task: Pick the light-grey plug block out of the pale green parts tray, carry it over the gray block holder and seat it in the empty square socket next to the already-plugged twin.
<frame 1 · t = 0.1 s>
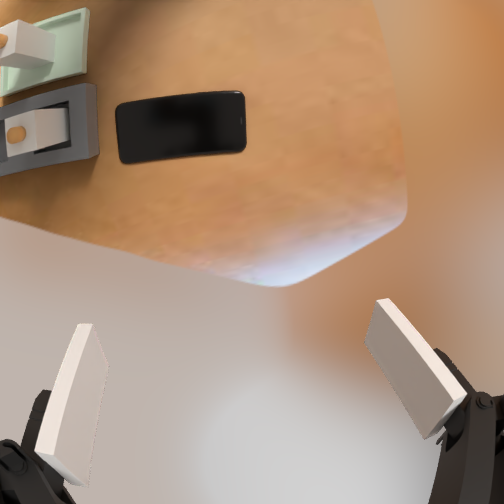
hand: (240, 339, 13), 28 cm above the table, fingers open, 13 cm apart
smartphone: (180, 125, 34), on the table
plug: (42, 52, 25), point 1 cm above the table, touching tray
tray: (44, 53, 25), on the table
gray block holder: (33, 132, 30), on the table
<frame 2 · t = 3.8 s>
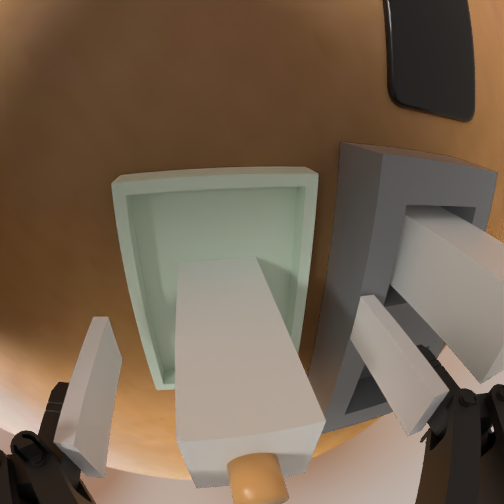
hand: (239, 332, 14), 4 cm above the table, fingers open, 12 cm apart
smartphone: (424, 4, 12), on the table
plug: (218, 292, 17), point 1 cm above the table, touching tray
tray: (217, 286, 17), on the table
gray block holder: (379, 294, 20), on the table
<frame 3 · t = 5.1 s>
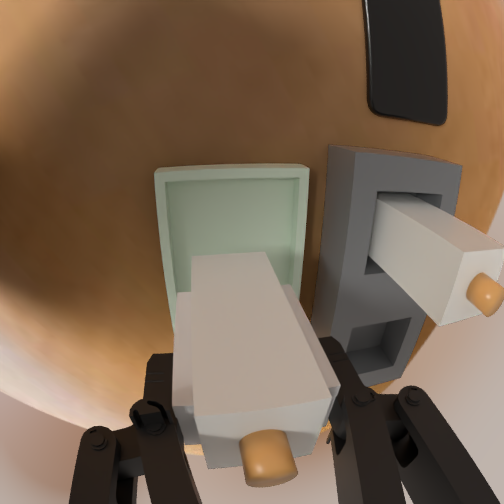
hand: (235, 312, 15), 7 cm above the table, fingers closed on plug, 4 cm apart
smartphone: (402, 26, 16), on the table
plug: (229, 285, 17), point 4 cm above the table, touching gripper
tray: (232, 258, 22), on the table
gray block holder: (367, 272, 24), on the table
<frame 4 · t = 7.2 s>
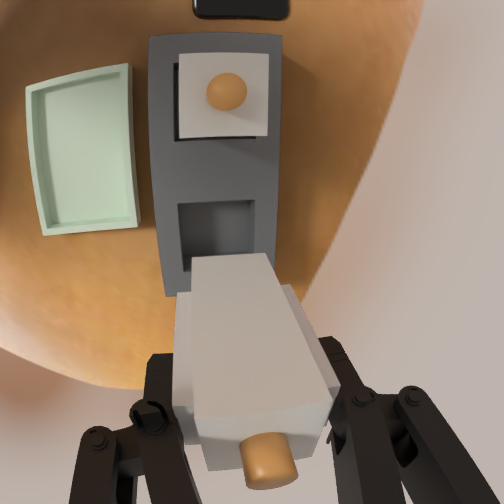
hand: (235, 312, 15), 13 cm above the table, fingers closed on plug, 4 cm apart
plug: (229, 286, 17), point 10 cm above the table, touching gripper
tray: (83, 150, 21), on the table
gray block holder: (212, 161, 24), on the table
when the fingers open (5 cm above the table, at t = 9.2 s): plug stays where it is, resting on gray block holder.
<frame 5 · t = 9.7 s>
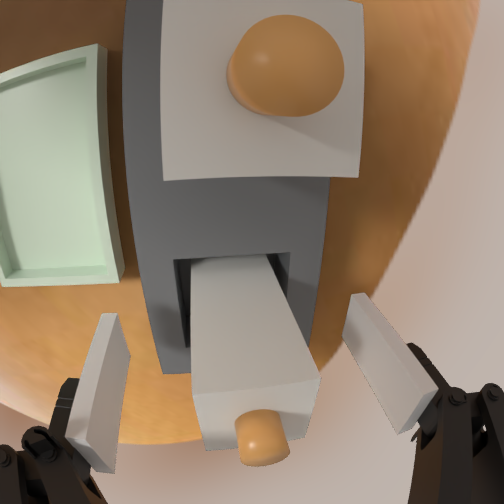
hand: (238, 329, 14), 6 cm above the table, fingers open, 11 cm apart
plug: (227, 277, 18), point 1 cm above the table, touching gray block holder
tray: (42, 173, 14), on the table
gray block holder: (224, 188, 17), on the table
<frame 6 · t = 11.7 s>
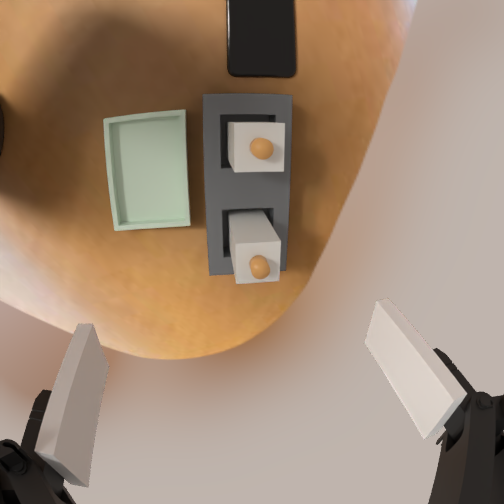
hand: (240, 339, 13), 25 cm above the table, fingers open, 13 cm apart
smartphone: (259, 17, 27), on the table
plug: (244, 225, 36), point 1 cm above the table, touching gray block holder
tray: (148, 169, 33), on the table
gray block holder: (243, 180, 35), on the table
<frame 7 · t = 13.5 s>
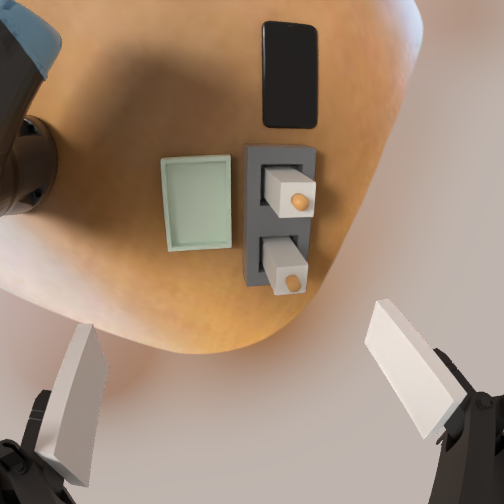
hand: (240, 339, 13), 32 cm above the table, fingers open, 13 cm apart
smartphone: (289, 74, 37), on the table
plug: (273, 246, 46), point 1 cm above the table, touching gray block holder
tray: (197, 201, 42), on the table
gray block holder: (273, 211, 45), on the table
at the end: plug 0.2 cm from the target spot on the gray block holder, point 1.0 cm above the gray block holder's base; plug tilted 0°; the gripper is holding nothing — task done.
